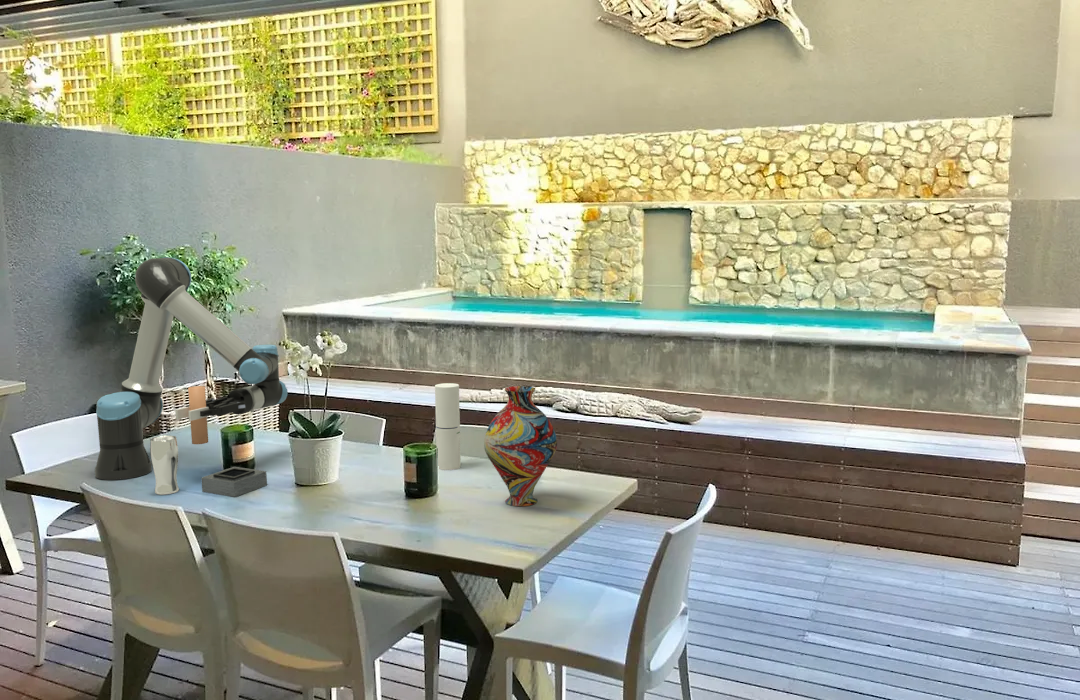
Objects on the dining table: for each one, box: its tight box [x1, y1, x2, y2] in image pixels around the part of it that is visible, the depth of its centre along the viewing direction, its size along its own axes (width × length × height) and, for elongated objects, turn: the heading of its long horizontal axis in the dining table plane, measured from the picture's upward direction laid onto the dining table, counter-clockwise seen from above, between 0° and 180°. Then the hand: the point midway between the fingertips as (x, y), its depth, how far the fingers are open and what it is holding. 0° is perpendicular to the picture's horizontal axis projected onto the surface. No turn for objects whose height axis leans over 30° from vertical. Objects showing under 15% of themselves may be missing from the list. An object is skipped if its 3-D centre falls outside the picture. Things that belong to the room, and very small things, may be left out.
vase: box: [483, 385, 558, 507], centre depth 220 cm, size 19×19×30 cm
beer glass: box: [149, 435, 180, 496], centre depth 232 cm, size 7×7×15 cm
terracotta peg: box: [187, 385, 209, 445], centre depth 241 cm, size 4×4×16 cm
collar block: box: [201, 466, 268, 498], centre depth 235 cm, size 12×12×4 cm
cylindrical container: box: [434, 382, 462, 471], centre depth 254 cm, size 7×7×25 cm
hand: (183, 415), depth 236 cm, fingers closed on terracotta peg, 4 cm apart
